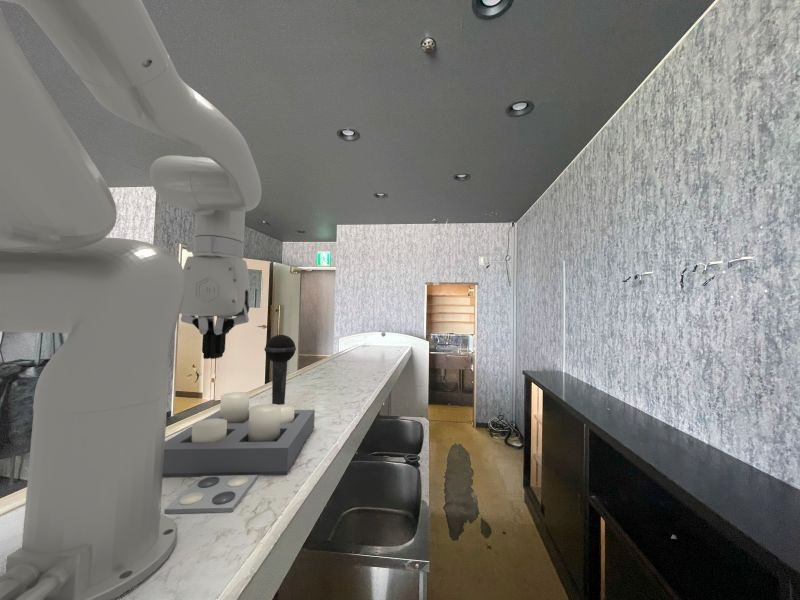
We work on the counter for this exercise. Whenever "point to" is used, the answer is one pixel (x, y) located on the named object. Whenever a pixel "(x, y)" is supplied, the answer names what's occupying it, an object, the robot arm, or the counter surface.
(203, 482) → the tile
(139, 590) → the counter surface
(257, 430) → the button near right
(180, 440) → the board
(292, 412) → the button far right
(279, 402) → the microphone
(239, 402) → the button far left
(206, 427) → the button near left
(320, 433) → the counter surface
